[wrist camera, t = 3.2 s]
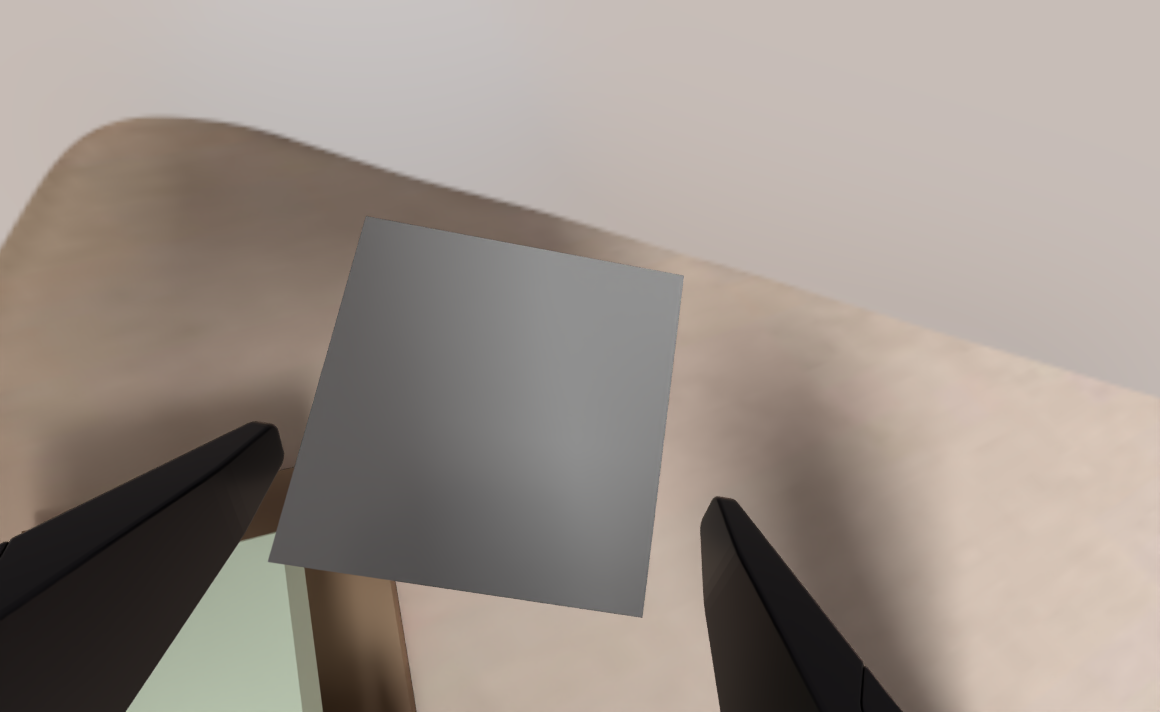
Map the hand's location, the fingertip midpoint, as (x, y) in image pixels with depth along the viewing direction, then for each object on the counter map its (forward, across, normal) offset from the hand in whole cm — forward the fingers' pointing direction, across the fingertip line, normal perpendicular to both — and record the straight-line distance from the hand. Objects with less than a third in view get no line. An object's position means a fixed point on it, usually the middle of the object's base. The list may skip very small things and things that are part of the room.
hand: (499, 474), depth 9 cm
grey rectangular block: (+7, 0, +6) cm, 9 cm away
